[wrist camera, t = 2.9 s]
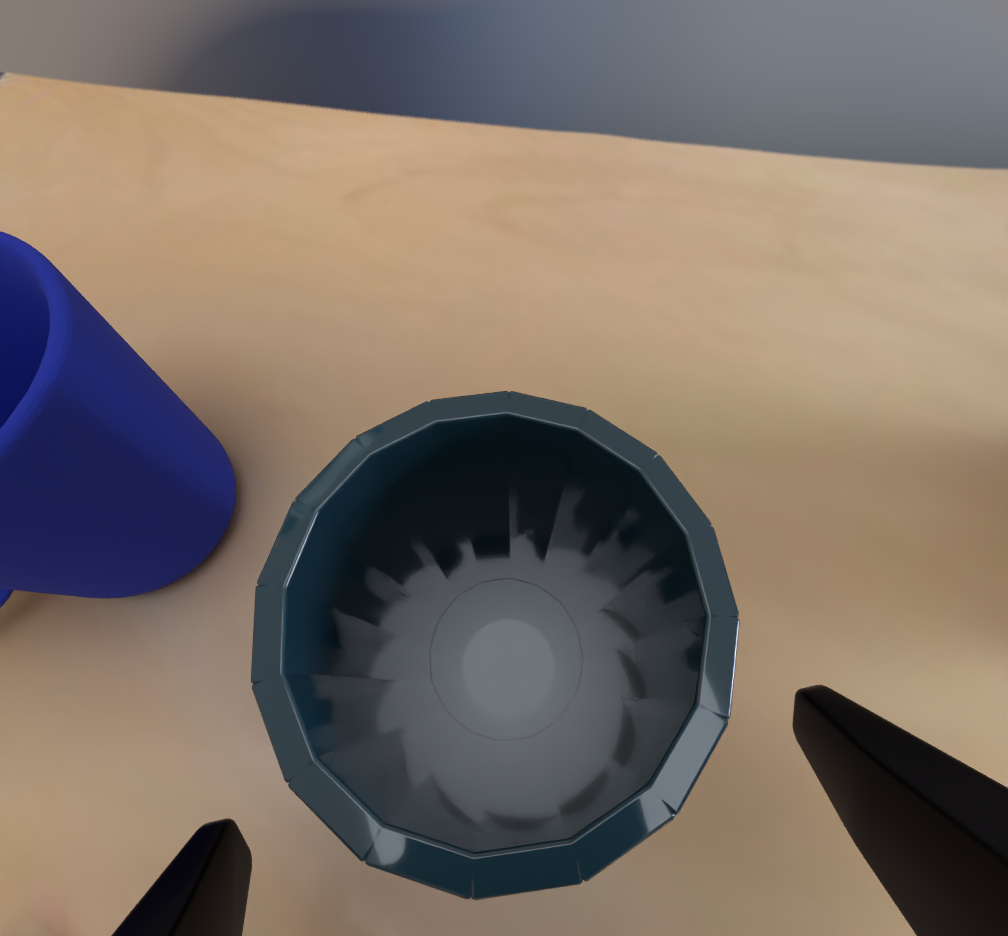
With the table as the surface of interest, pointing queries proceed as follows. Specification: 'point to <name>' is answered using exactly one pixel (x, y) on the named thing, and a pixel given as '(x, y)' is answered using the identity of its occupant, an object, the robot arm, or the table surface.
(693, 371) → the table surface
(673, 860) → the table surface
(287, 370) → the table surface
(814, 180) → the table surface
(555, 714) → the pencil cup
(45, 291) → the mug
